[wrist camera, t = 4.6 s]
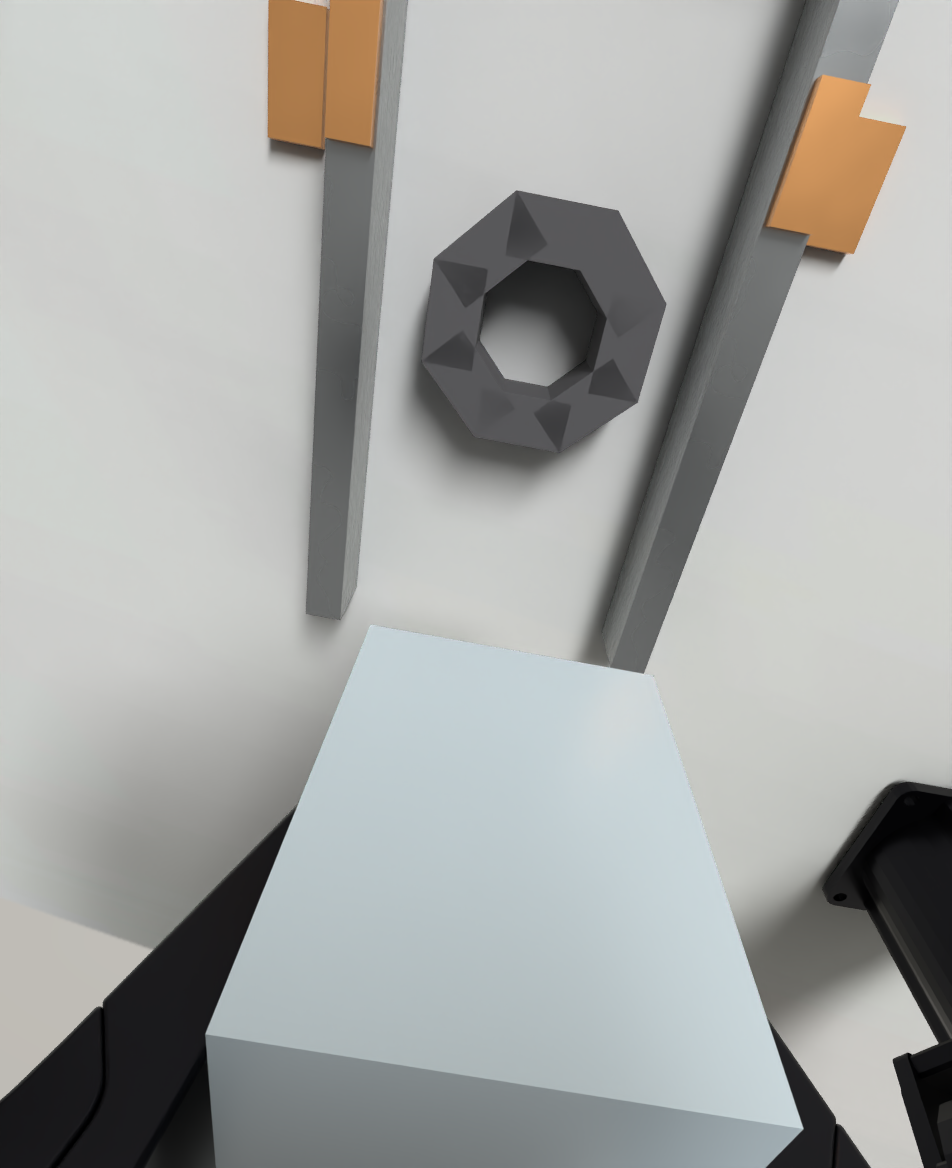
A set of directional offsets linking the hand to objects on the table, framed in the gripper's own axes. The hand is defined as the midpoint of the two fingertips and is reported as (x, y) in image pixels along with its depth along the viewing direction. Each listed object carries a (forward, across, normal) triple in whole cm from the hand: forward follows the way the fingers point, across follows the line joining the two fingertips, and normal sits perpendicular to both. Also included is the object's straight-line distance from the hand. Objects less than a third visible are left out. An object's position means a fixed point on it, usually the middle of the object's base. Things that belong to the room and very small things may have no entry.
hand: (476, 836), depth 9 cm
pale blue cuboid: (+1, 0, 0) cm, 1 cm away
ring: (+11, 0, -6) cm, 12 cm away
